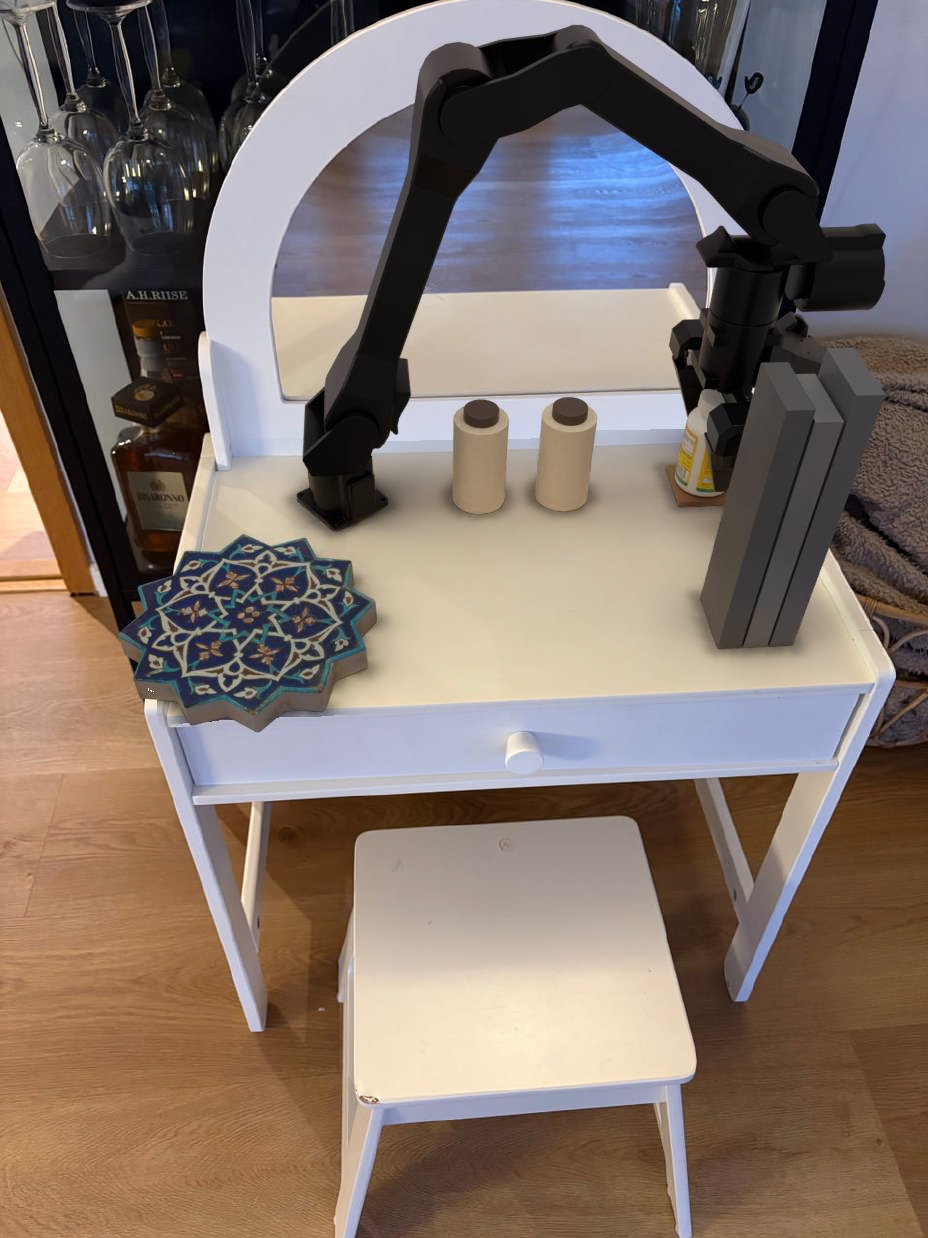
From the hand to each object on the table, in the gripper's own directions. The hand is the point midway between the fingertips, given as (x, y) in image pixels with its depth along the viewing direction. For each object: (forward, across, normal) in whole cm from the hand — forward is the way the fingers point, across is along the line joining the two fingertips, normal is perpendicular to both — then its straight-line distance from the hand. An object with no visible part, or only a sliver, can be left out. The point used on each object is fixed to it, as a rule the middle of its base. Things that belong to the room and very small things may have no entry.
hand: (708, 461), depth 94 cm
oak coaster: (+3, 0, 0) cm, 3 cm away
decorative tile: (+3, -18, +42) cm, 46 cm away
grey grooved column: (+3, -18, +1) cm, 19 cm away
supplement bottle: (+3, 0, 0) cm, 3 cm away
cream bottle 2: (+3, -1, +14) cm, 14 cm away
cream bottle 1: (+3, -1, +22) cm, 22 cm away
